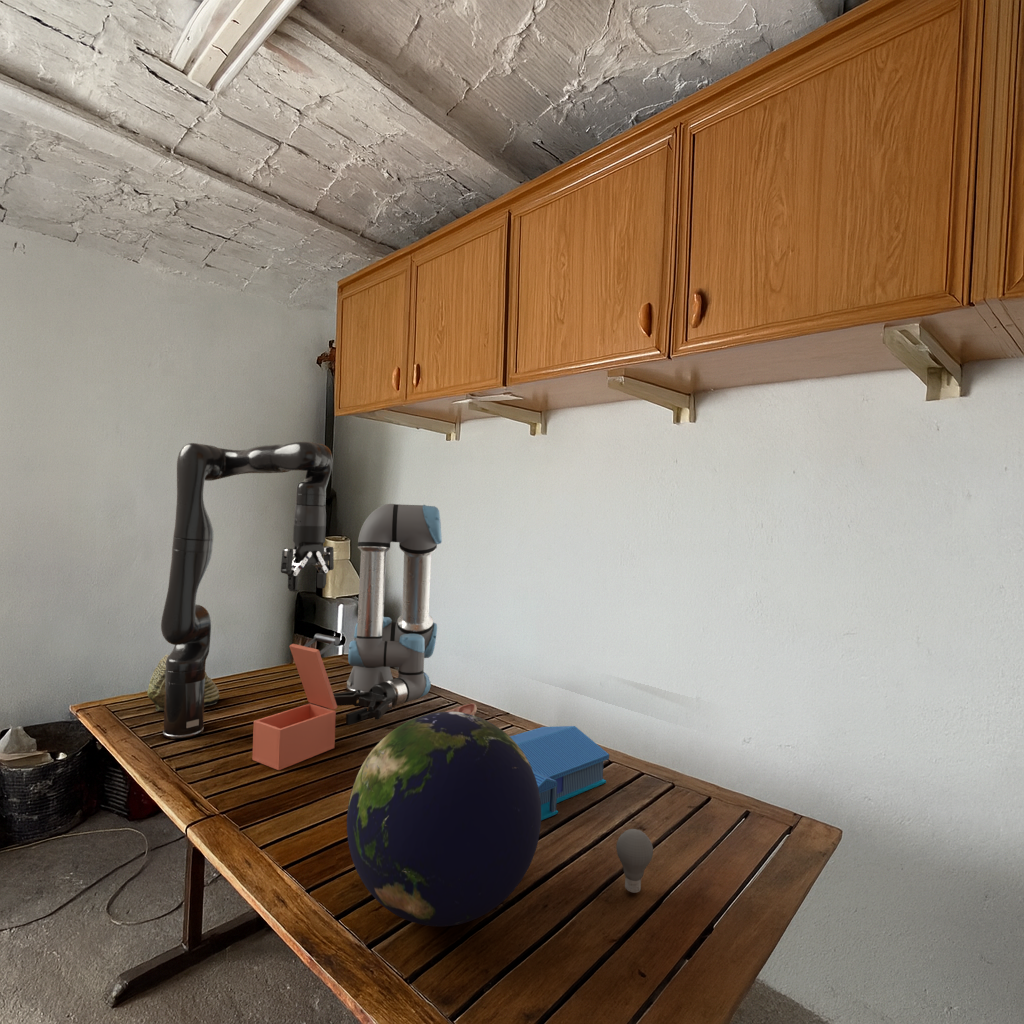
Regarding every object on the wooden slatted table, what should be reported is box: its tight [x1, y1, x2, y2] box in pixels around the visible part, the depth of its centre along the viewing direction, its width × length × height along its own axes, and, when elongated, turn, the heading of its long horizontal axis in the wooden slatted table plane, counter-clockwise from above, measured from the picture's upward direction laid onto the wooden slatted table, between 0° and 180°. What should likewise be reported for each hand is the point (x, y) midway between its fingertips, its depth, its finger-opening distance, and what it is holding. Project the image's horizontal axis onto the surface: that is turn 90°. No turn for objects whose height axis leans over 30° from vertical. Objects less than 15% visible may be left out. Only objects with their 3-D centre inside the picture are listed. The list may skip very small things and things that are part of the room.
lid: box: [289, 632, 341, 711], centre depth 162 cm, size 17×10×9 cm
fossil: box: [147, 654, 221, 712], centre depth 185 cm, size 9×18×15 cm, turn 132°
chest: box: [251, 703, 337, 771], centre depth 155 cm, size 17×10×9 cm, turn 148°
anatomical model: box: [444, 702, 478, 716], centre depth 183 cm, size 13×4×12 cm
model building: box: [509, 725, 610, 822], centre depth 140 cm, size 39×24×10 cm, turn 132°
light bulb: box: [615, 828, 654, 894], centre depth 106 cm, size 6×6×10 cm
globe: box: [346, 711, 542, 928], centre depth 99 cm, size 30×30×30 cm
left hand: (307, 589), depth 156 cm, fingers open, 8 cm apart
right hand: (328, 713), depth 164 cm, fingers open, 13 cm apart
